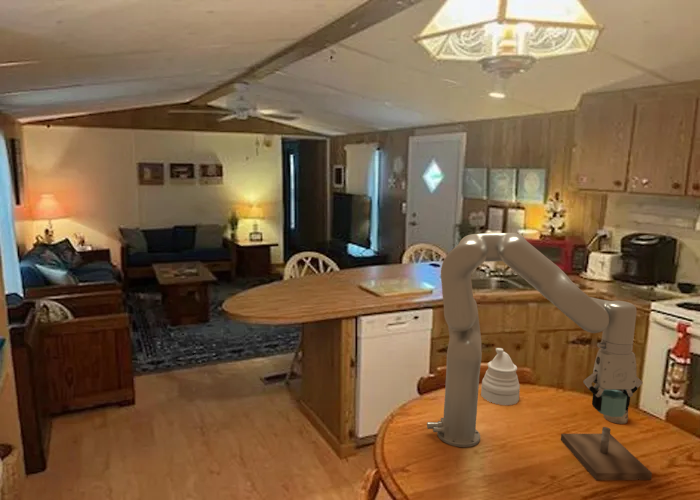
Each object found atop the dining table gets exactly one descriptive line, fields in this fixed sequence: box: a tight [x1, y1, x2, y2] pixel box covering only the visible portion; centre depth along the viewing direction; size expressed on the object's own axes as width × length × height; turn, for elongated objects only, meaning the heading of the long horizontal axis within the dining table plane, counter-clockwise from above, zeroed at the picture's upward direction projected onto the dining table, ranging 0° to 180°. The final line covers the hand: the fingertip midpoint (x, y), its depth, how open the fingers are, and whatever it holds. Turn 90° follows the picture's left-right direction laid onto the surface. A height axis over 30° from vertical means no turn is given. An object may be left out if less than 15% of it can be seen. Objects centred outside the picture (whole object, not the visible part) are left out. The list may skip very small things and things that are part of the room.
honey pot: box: [480, 347, 521, 406], centre depth 182 cm, size 13×13×18 cm
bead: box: [595, 390, 627, 417], centre depth 143 cm, size 7×7×5 cm
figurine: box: [602, 390, 629, 425], centre depth 168 cm, size 7×7×12 cm
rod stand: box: [560, 426, 653, 481], centre depth 145 cm, size 15×20×9 cm
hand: (610, 408), depth 143 cm, fingers closed on bead, 7 cm apart
